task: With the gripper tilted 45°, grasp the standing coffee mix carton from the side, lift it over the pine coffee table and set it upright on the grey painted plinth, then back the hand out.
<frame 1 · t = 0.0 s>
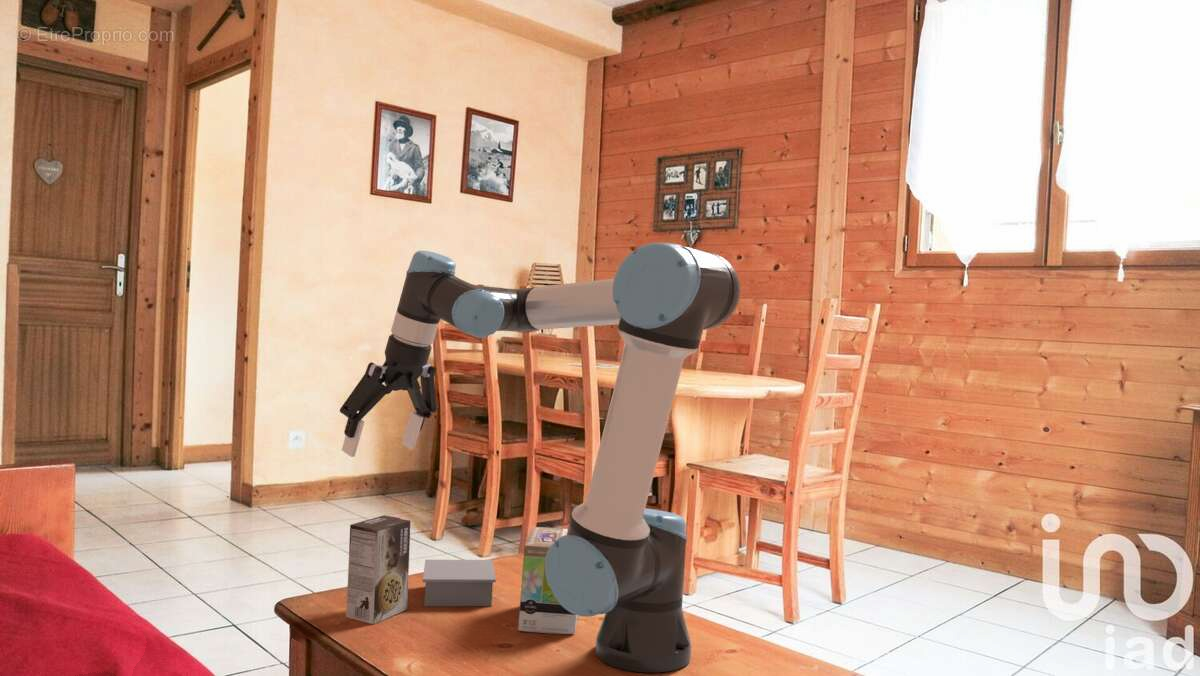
hand: (378, 450, 154), 28 cm above the table, tool tilted 20°, fingers open, 13 cm apart
grey plinth: (458, 595, 162), on the table
coffee box: (376, 615, 150), on the table
tea box: (550, 620, 152), on the table
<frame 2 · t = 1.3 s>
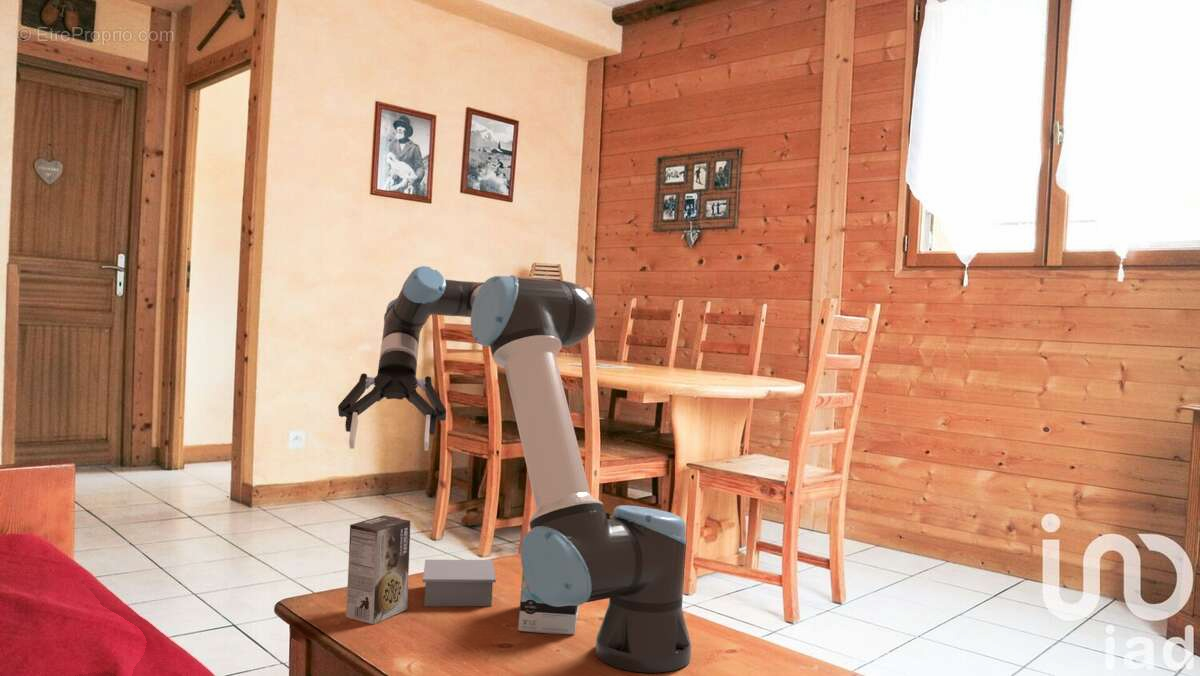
hand: (389, 445, 161), 28 cm above the table, tool tilted 45°, fingers open, 13 cm apart
nothing on the table moved.
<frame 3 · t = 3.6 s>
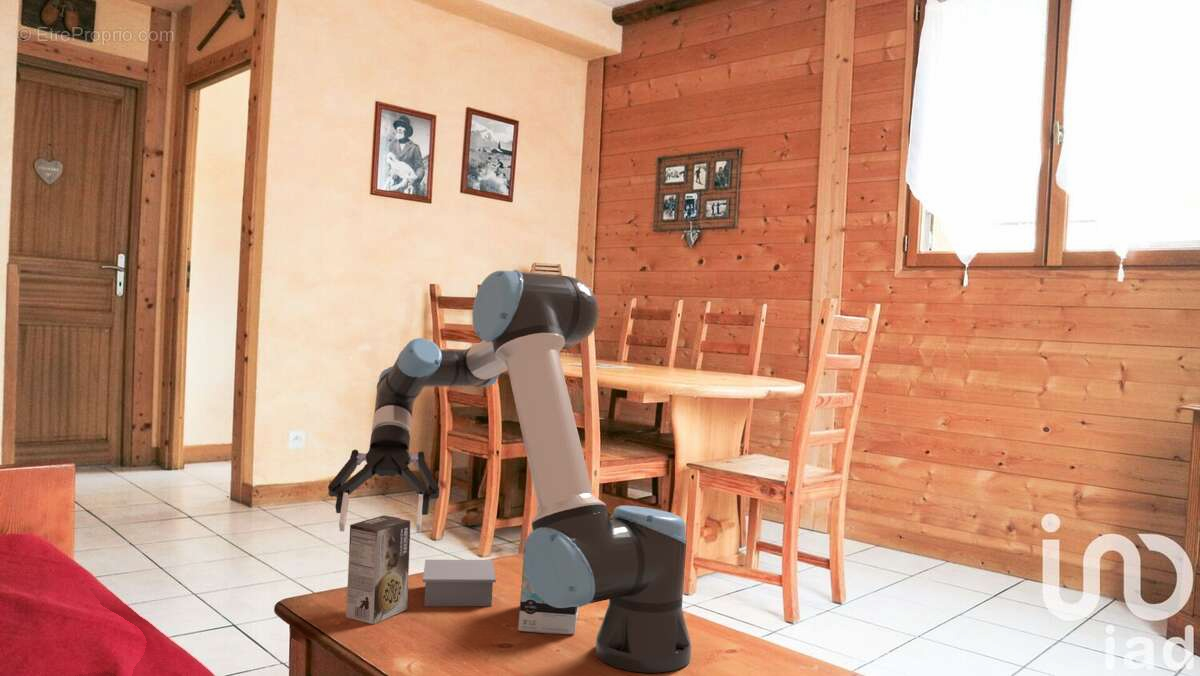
hand: (380, 528, 156), 13 cm above the table, tool tilted 45°, fingers open, 13 cm apart
nothing on the table moved.
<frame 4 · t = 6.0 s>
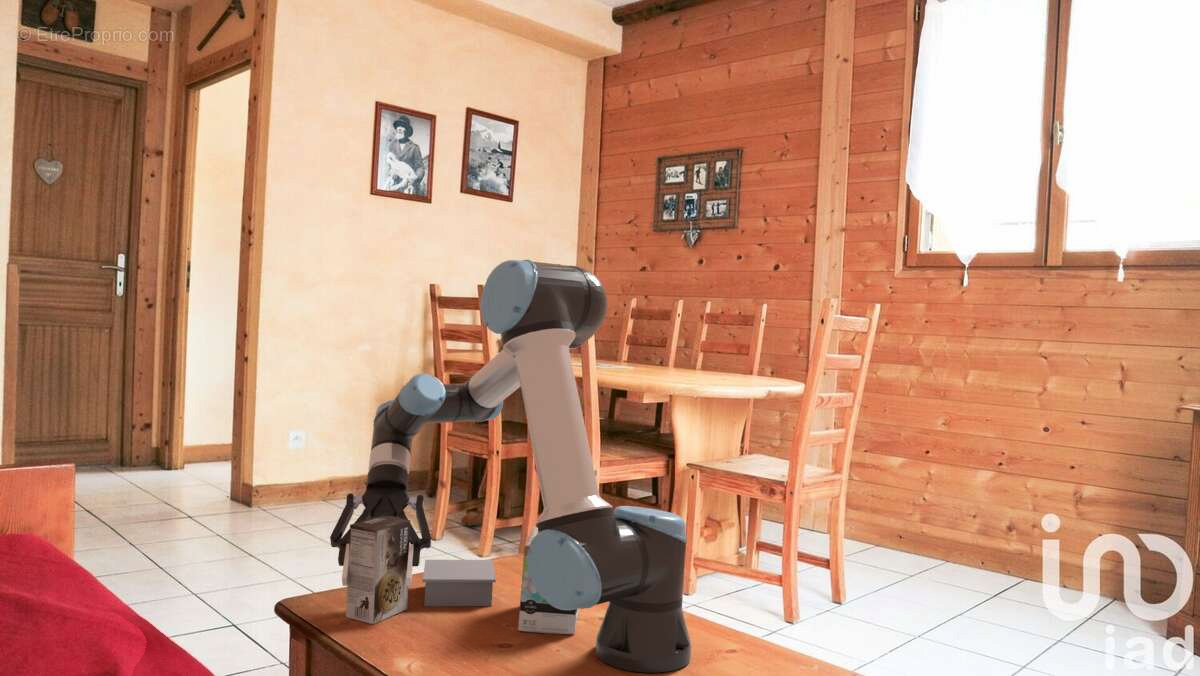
hand: (376, 581, 147), 6 cm above the table, tool tilted 45°, fingers closed on coffee box, 10 cm apart
coffee box: (376, 615, 150), on the table, touching gripper
everything else where it was.
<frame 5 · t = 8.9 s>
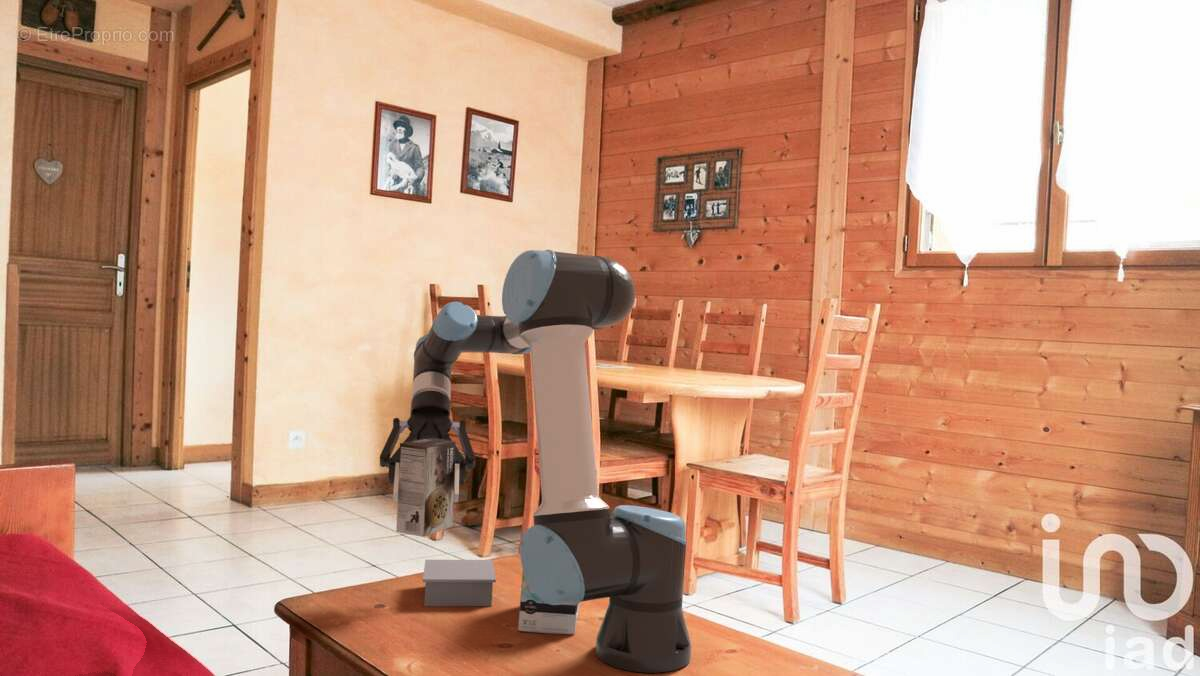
hand: (426, 497, 154), 20 cm above the table, tool tilted 45°, fingers closed on coffee box, 10 cm apart
coffee box: (424, 530, 157), point 13 cm above the table, touching gripper
everything else where it was.
when the fingers open (13 cm above the table, at t = 12.0 s): coffee box drops 1 cm, resting on grey plinth.
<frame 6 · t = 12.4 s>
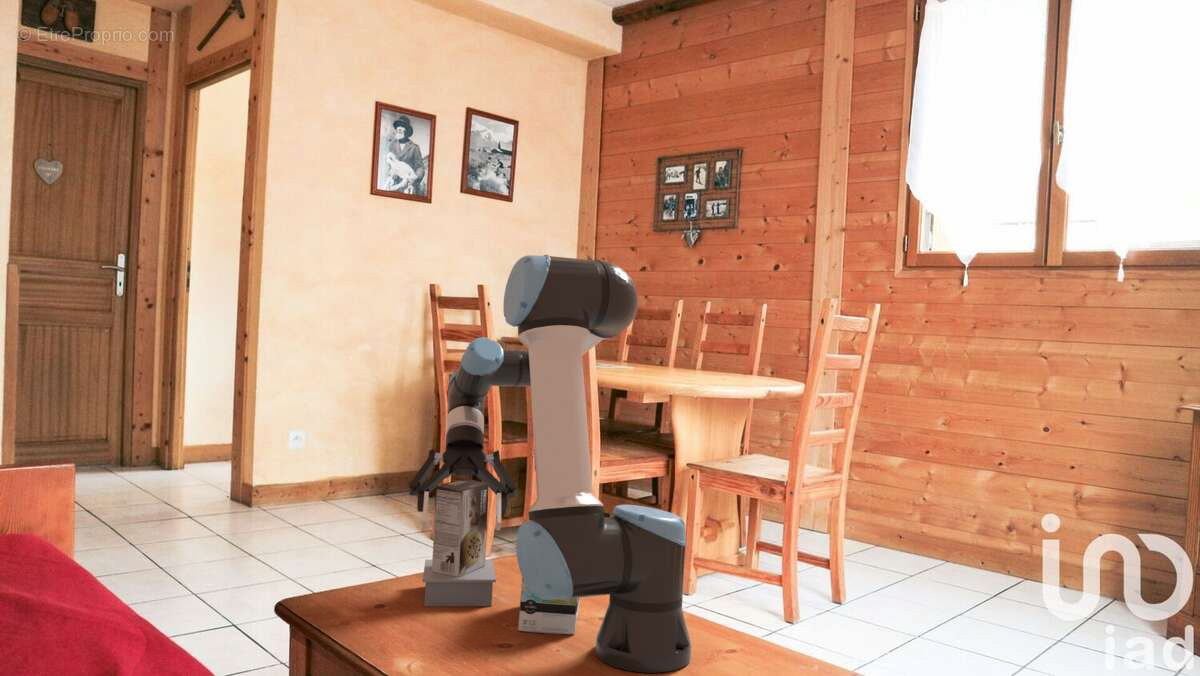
hand: (461, 526, 160), 14 cm above the table, tool tilted 45°, fingers open, 13 cm apart
coffee box: (458, 570, 162), point 5 cm above the table, touching grey plinth
everything else where it was.
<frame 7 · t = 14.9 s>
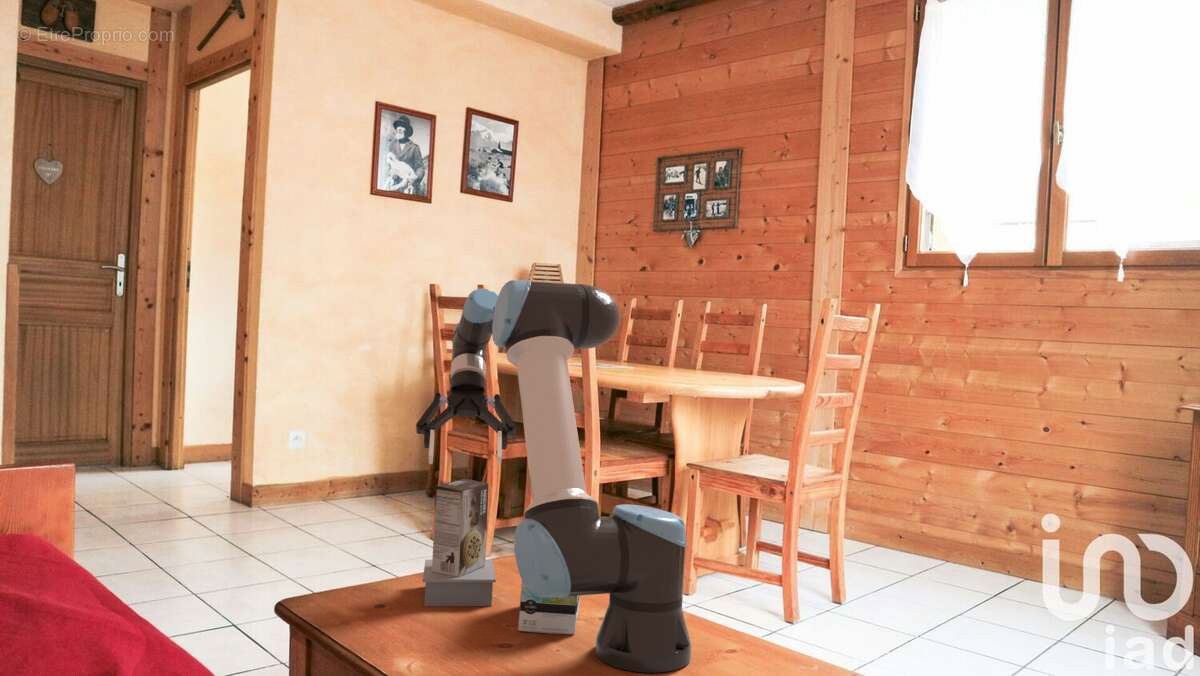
hand: (465, 460, 172), 24 cm above the table, tool tilted 45°, fingers open, 13 cm apart
nothing on the table moved.
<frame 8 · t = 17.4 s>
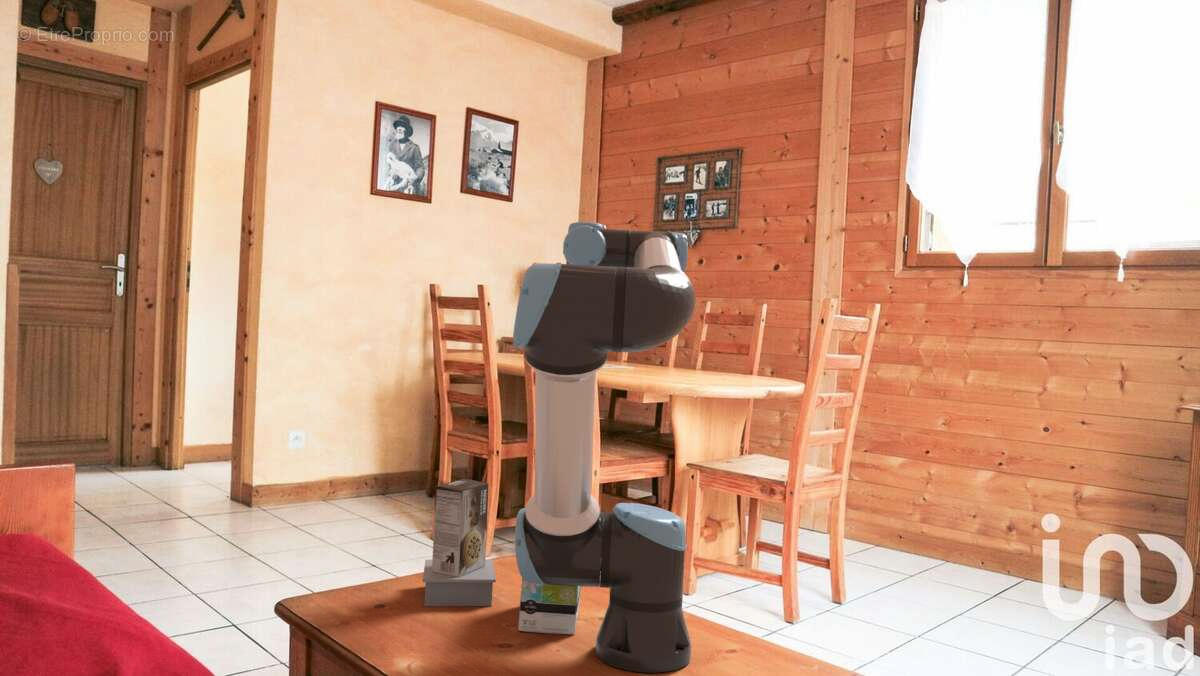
hand: (578, 415, 165), 35 cm above the table, tool pointing down, fingers open, 13 cm apart
nothing on the table moved.
at the end: coffee box inside the target area on the grey plinth (0.1 cm from its centre), point 4.8 cm above the grey plinth's base; coffee box tilted 0°; the gripper is holding nothing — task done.
